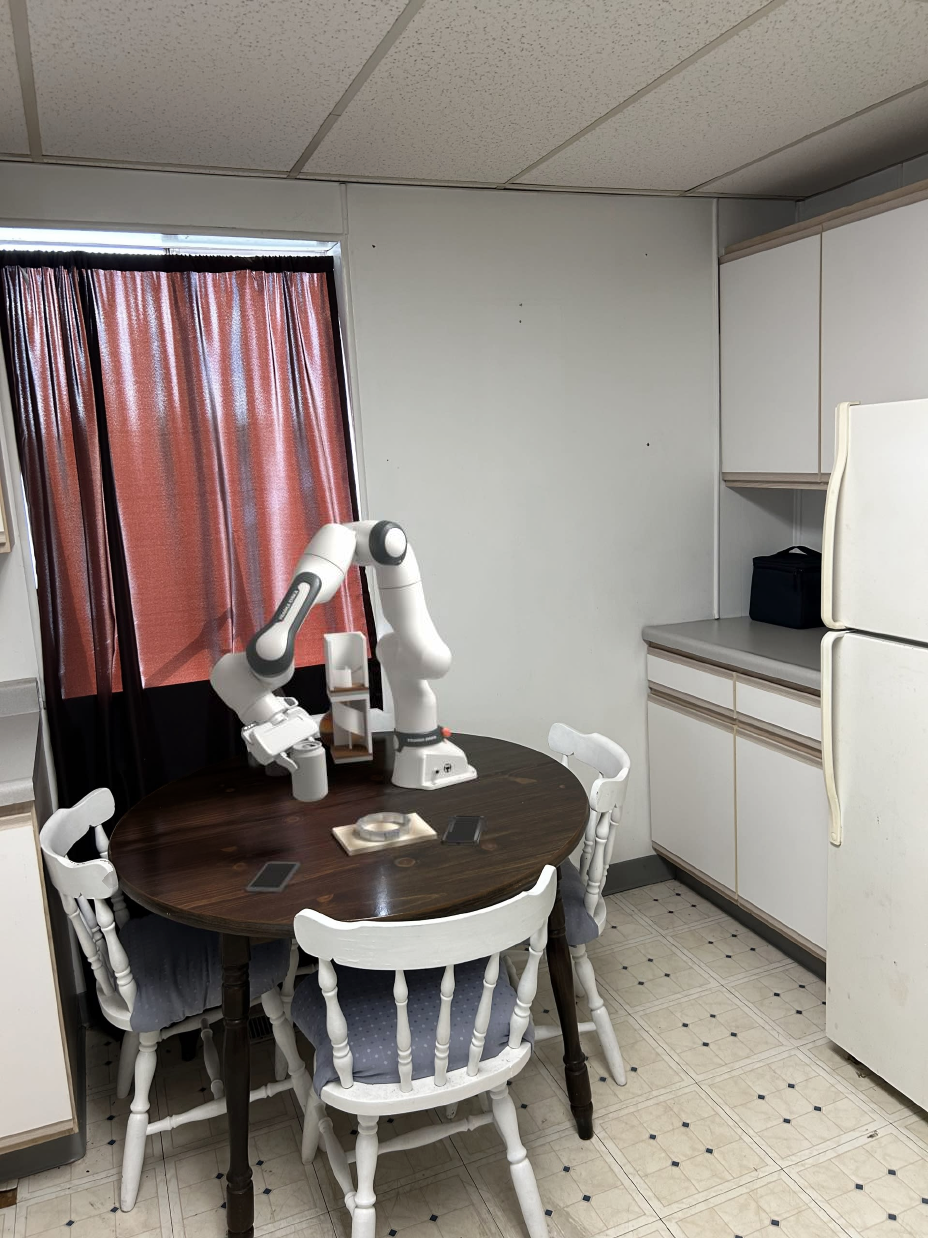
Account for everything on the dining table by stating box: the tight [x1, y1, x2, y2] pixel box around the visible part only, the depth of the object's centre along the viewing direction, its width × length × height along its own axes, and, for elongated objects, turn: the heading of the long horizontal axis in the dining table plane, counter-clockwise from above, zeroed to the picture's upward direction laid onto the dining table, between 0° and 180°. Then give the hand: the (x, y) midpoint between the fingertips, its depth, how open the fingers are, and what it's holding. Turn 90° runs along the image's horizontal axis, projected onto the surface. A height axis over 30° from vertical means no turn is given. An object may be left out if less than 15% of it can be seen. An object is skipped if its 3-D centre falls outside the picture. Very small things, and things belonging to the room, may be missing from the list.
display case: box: [323, 631, 373, 765], centre depth 269 cm, size 11×11×35 cm
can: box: [290, 740, 329, 803], centre depth 205 cm, size 8×8×12 cm
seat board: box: [332, 812, 438, 856], centre depth 213 cm, size 20×14×1 cm
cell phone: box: [245, 861, 301, 894], centre depth 194 cm, size 7×14×1 cm, turn 172°
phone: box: [442, 815, 486, 846], centre depth 214 cm, size 8×1×15 cm
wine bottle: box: [264, 686, 292, 777], centre depth 257 cm, size 7×7×30 cm
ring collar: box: [355, 811, 411, 842], centre depth 213 cm, size 12×12×2 cm
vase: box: [318, 697, 334, 748], centre depth 284 cm, size 11×11×15 cm
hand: (307, 763), depth 205 cm, fingers closed on can, 7 cm apart
